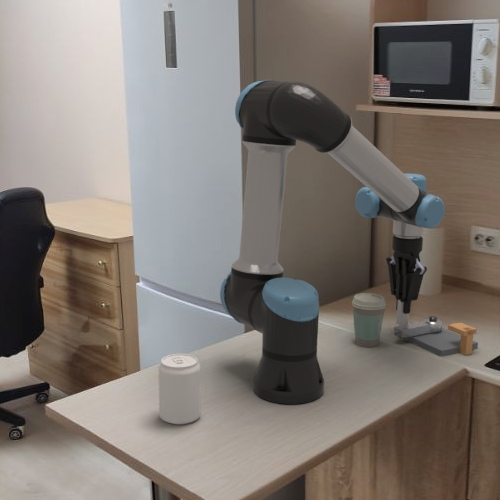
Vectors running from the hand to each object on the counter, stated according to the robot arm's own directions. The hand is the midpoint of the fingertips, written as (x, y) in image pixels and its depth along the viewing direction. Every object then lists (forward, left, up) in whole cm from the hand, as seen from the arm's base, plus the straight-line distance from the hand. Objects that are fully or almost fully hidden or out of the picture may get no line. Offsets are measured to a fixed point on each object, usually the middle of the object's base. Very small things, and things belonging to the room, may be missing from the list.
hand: (402, 324), depth 199 cm
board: (+4, -9, -3) cm, 10 cm away
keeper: (+5, -16, -3) cm, 17 cm away
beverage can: (-71, -17, -3) cm, 73 cm away
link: (+2, -5, -1) cm, 5 cm away
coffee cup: (-12, -1, -3) cm, 12 cm away
